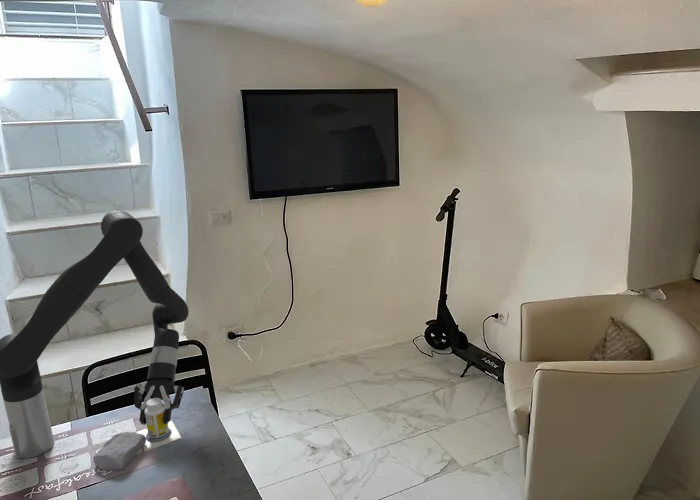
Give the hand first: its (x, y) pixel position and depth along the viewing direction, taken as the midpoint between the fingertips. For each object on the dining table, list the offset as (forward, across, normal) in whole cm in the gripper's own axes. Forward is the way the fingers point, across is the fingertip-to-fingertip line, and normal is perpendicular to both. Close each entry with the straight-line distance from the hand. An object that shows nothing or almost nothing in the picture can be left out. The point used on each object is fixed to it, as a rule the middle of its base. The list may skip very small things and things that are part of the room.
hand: (154, 423), depth 149 cm
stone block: (+8, -8, -1) cm, 11 cm away
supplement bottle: (+2, 0, +4) cm, 5 cm away
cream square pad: (+2, 0, +5) cm, 5 cm away
